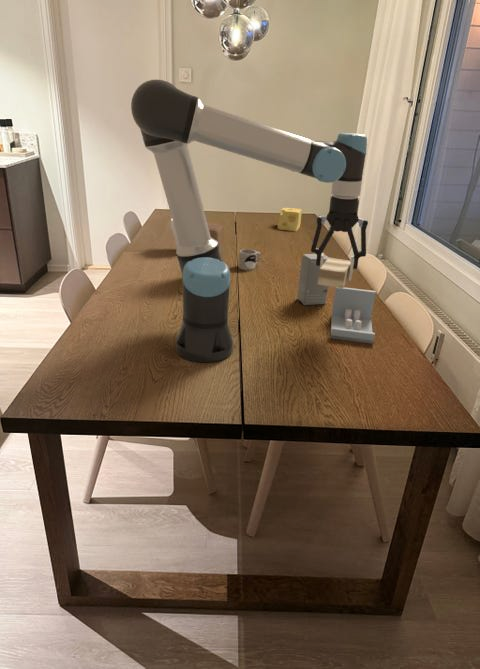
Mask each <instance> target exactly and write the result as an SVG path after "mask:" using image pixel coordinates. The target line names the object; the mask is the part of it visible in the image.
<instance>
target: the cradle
mask: <svg viewBox="0 0 480 669" xmlns="http://www.w3.org/2000/svg"><path fill="white" fill-rule="evenodd" d="M376 293H377V291H376V290H369V289H362V288H361V289H360V288H353V287H345V286H344V287H343V288H337V287H335V292H334V298H333V304H332V311H331V323H330V339H334V340H339V341H340V340H341V341H349V342H355V343H363V344H369V345H371V344H372V345H373V344H374V340H375V335H376V333H375V332H373V326H372V315H373V309H374V304H375V299H376V295H377V294H376Z"/></svg>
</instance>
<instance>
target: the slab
mask: <svg viewBox="0 0 480 669" xmlns="http://www.w3.org/2000/svg"><path fill="white" fill-rule="evenodd" d="M350 263H351V259H350V260H349V259H348V260H347V259H342V258H335V257H329V258H328V259H327V260H326V261H325V263H324V264H323V265H322V266H321V268H320V269H319V277H318V284H319V285H325V286H328V287H331V288H336V287H337V288H343V287H345V286H346V284H347V282H348V281H349V279H348V277H349V270H350Z"/></svg>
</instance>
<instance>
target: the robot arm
mask: <svg viewBox="0 0 480 669" xmlns="http://www.w3.org/2000/svg"><path fill="white" fill-rule="evenodd" d="M130 110H131V115H132V118H133V120H134V122H135V124H136V125H137V127H138V128H139V130H140V133H141V136H142V140H143V143H144V146H145V148H146V149H147V150H149V151H150V152H152V154H153V155H154V159H155V162H156V167H157V170H158V173H159V176H160V181H161V184H162V187H163V191H164V194H165V198H166V202H167V205H168V208H169V212H170V216H171V218H172V219H173V223H174V227H175V230H176V234H177V237H178V241H179V244H180V245H179V248H178V249H177V248H176V252H175V255H176V257H177V261H178V263H179V267H180V272H181V279H182V280H181V281H182V323H181V325H180V328H179V332H178V334H177V337H176V339H175V340H176V341H175V351H176V353H177V354H178V355H179V356H180V357H181V358H183V359H186V360H188V361H190V362H191V361H192V362H197V363H214V362H220V361H222V360H225V359H227V358H228V357H230V356H231V355H232V354H233V351H234V341H233V336H232V334H231V333H232V332H231V330H230V326H229V322H228V320H229V319H228V317H229V304H230V303H229V298H230V284H231V274H230V273H231V270H230V267H229V265H228V264H226V263H225V262H224V261H223V256H222V257H221V253H220V249H219V246H218V242H217V241H216V240H214V239H213V238H211V236H210V232H209V228H208V224H207V223H208V222H207V217H206V213H205V210H204V205H203V202H202V196H201V193H200V189H199V185H198V181H197V177H196V174H195V173H196V172H195V169H194V166H193V165H194V164H193V162H192V158H191V153H190V150H189V144H191V143H192V142H198V143H200V144H204V145H207V146H211V147H213V148H217V149H219V150H224V151H226V152H230V153H233V154H236V155H239V156H243V157H246V158H249V159H253V160H254V161H255V160H256V161H259V162H263V163H266V164H269V165H273V166H276V167H279V168H282V169H285V170H289V171H291V172H295V173H299V174H301V175H303V176H308V177H311V178H313V179H316V180H317V181H319V182H322V183H327V184H328V183H331V192H330V193H331V195H332V196H330V198H329V200H330V202H329V209H328V213H327V214H326V215H318V216H317V218H316V229H315V233H314V236H313V241H312V244H311V248H310V251H311V253H313V254H317V259H316V265H317V266H320V268H321V266H322V265H323V259H324V254H325V253H324V251H325V248H326V247H327V245H328V243H329V242H330V240H331V238H332V236H333V235H334V233H335V232H342V233H347V235H348V238H349V241H350V242H349V243H350V245H351V249H352V252H353V255H351V256H350V261H351V263H350V270H349V277H348V282H349V281H350V282H352V278H353V271H354V270H357V269H358V265H359V259H360V258H361V257H362V258H364V257H366V256H367V232H366V230H367V228H368V226H369V225H368V224H369V221H368V218H360V217H359V215H358V212H359V205H360V198H359V197H360V196H361V191H362V184H363V175H364V168H365V163H366V156H367V148H368V143H367V142H368V138H367V136H366V135H365V134H364V133H357V132H356V133H355V132H340V133H339V134H338V135H337V138H336V140H333V141H332V140H331V141H327V140H326V141H323V140H322V141H320V140H312V139H309V138H306V137H303V136H300V135H297V134H295V133H291V132H288V131H285V130H282V129H279V128H276V127H272V126H269V125H266V124H264V123H260V122H257V121H255V120H252V119H249V118H245V117H243V116H239V115H237V114H233V113H231V112H228V111H223V110H221V109H218V108H215V107H211V106H209V105H205V104H203V102H202V100H201V99H200V97H199V96H194V95H193V94H189V93H186V92H184V91H183V90H180V89H179V88H177V87H176V86H175V85H174V84H173V83H171V82H169V81H166V80H163V79H150V80H147V81H145V82H142V84H140V85H138V87H137V88H136V89H135V90H134V93H133V95H132V98H131V103H130ZM326 221H327V223H328V224H329V226H330V227H329V229H328V231H327V232H326V234H325V237H324V238H323V239H322V241H321V244H319V247H317V246H318V242H319V239H320V235H321V232H322V231H321V230H322V226H323V225H324V224H325V222H326ZM357 223H358V226H359V228H360V251H359V249H358V246H357V242H356V238H355V235H354V232H353V227H355V226H356V224H357Z"/></svg>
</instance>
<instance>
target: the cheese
mask: <svg viewBox="0 0 480 669" xmlns="http://www.w3.org/2000/svg"><path fill="white" fill-rule="evenodd" d="M302 212H303V210H302V209H301V208H293V207H282V208H281V210H280V214H279V216H278V223H277V230H280V231H282V230H283V231H289V232H295V233H296V232H297V231H298V230H299V229H300V228H301V227H300V226H301V221H302Z"/></svg>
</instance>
